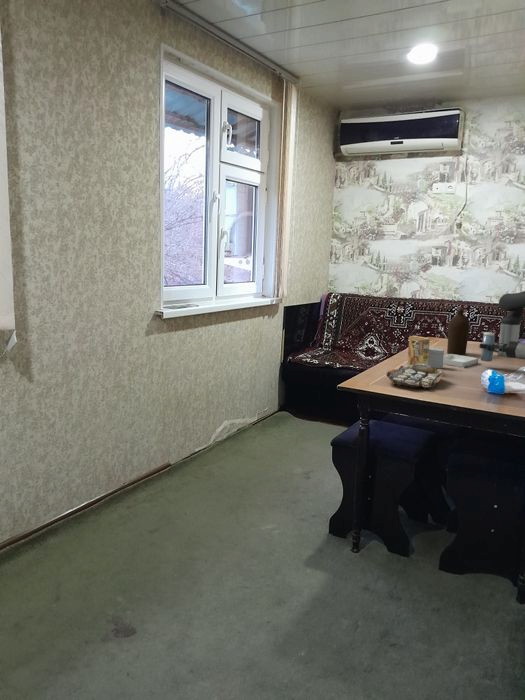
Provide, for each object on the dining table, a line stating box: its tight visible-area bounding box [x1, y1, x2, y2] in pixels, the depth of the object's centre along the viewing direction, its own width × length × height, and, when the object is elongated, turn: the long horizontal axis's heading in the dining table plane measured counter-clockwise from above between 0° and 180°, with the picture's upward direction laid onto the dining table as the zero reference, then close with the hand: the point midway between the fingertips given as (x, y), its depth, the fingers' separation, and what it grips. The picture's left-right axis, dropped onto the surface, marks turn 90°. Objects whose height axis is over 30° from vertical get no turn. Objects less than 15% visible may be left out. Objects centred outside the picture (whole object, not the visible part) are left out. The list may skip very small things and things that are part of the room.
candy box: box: [406, 335, 431, 366], centre depth 240 cm, size 9×4×15 cm, turn 33°
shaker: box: [480, 331, 496, 362], centre depth 249 cm, size 5×5×13 cm
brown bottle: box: [446, 306, 471, 356], centre depth 281 cm, size 11×11×25 cm
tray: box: [443, 354, 479, 368], centre depth 259 cm, size 16×14×2 cm
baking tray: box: [386, 363, 446, 389], centre depth 218 cm, size 30×22×5 cm
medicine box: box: [428, 347, 445, 369], centre depth 248 cm, size 8×4×9 cm, turn 65°
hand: (482, 345), depth 250 cm, fingers closed on shaker, 5 cm apart
